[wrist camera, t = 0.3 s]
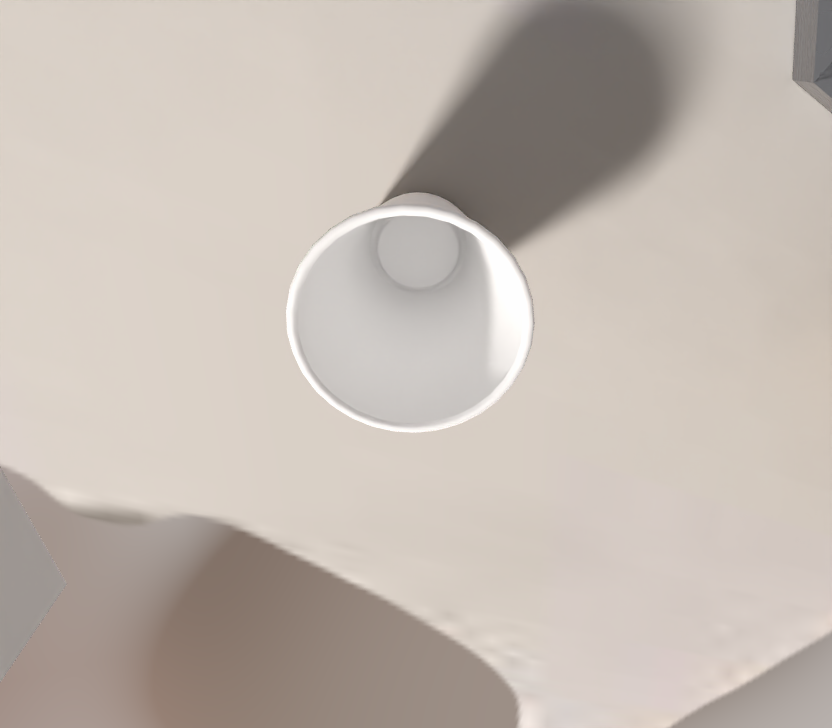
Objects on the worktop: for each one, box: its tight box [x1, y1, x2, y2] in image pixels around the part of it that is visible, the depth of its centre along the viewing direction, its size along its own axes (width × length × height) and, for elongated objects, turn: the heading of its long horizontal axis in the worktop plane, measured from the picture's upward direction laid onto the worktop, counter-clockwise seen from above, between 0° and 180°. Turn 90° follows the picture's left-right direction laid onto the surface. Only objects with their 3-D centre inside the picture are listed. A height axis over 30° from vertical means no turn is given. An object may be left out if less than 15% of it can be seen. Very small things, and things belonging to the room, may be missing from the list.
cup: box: [286, 192, 534, 432], centre depth 31 cm, size 10×10×11 cm
